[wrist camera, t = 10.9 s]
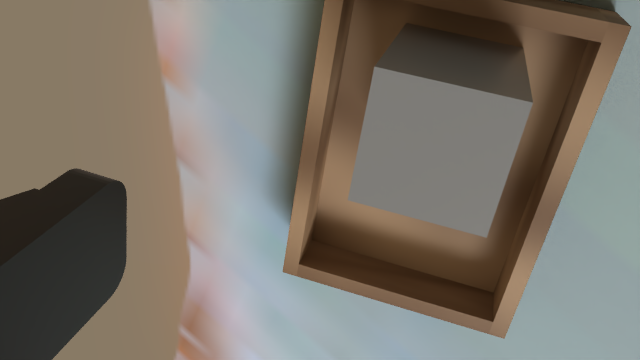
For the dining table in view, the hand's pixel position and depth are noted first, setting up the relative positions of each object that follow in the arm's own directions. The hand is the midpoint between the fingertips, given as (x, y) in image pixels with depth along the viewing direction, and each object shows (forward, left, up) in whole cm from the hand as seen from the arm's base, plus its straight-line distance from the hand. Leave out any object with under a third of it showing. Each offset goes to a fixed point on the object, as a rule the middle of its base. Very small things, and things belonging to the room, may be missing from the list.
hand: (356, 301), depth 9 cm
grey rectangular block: (+1, +1, -13) cm, 13 cm away
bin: (+3, +1, -14) cm, 14 cm away
